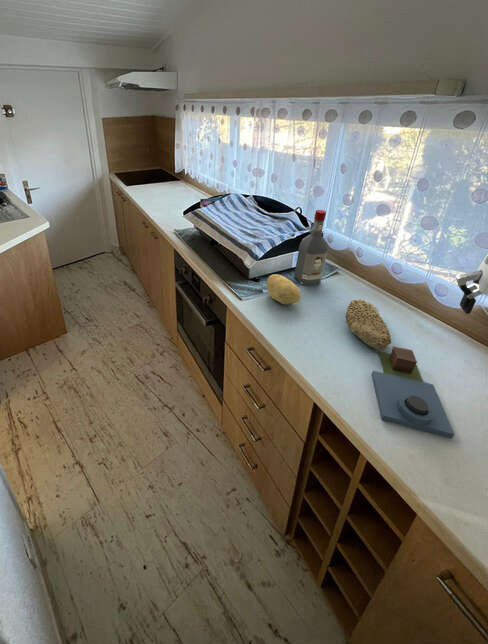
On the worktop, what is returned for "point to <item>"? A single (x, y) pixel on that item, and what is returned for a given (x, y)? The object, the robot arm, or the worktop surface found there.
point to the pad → (388, 370)
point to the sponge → (367, 324)
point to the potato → (283, 289)
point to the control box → (394, 409)
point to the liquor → (312, 253)
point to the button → (417, 405)
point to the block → (402, 360)
